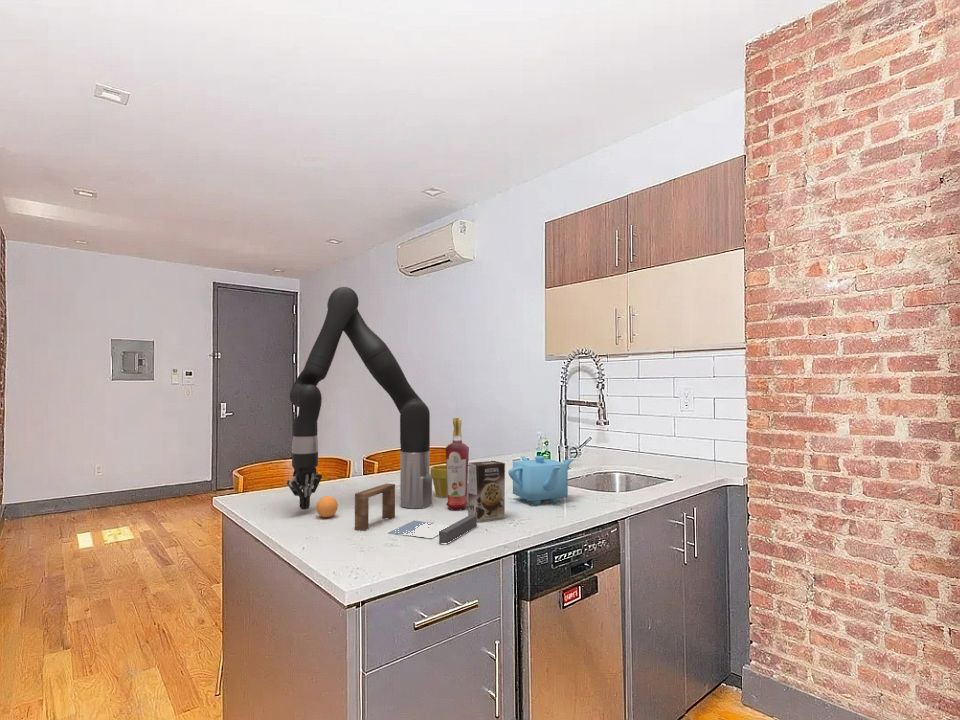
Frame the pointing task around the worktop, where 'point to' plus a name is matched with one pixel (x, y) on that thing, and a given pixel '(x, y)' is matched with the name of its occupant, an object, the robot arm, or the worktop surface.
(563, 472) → the teakettle
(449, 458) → the liquor
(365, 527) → the bridge
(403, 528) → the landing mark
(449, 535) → the wall
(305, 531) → the worktop surface
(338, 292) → the robot arm
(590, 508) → the worktop surface
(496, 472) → the coffee box
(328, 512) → the ball
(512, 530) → the worktop surface
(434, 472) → the plant pot
